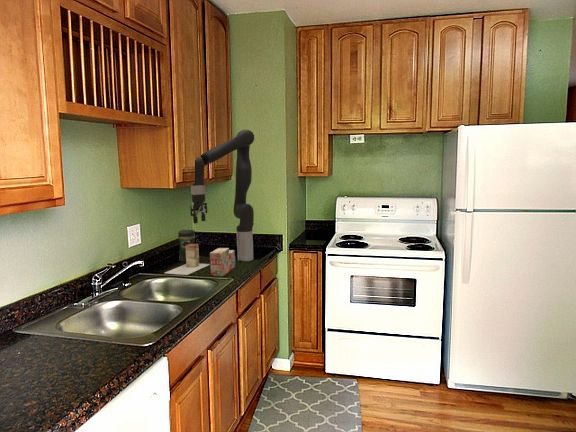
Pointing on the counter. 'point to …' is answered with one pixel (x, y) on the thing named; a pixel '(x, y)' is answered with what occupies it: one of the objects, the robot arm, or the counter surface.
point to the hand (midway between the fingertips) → (199, 222)
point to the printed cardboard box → (222, 261)
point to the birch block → (192, 255)
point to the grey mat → (186, 269)
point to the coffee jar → (185, 241)
